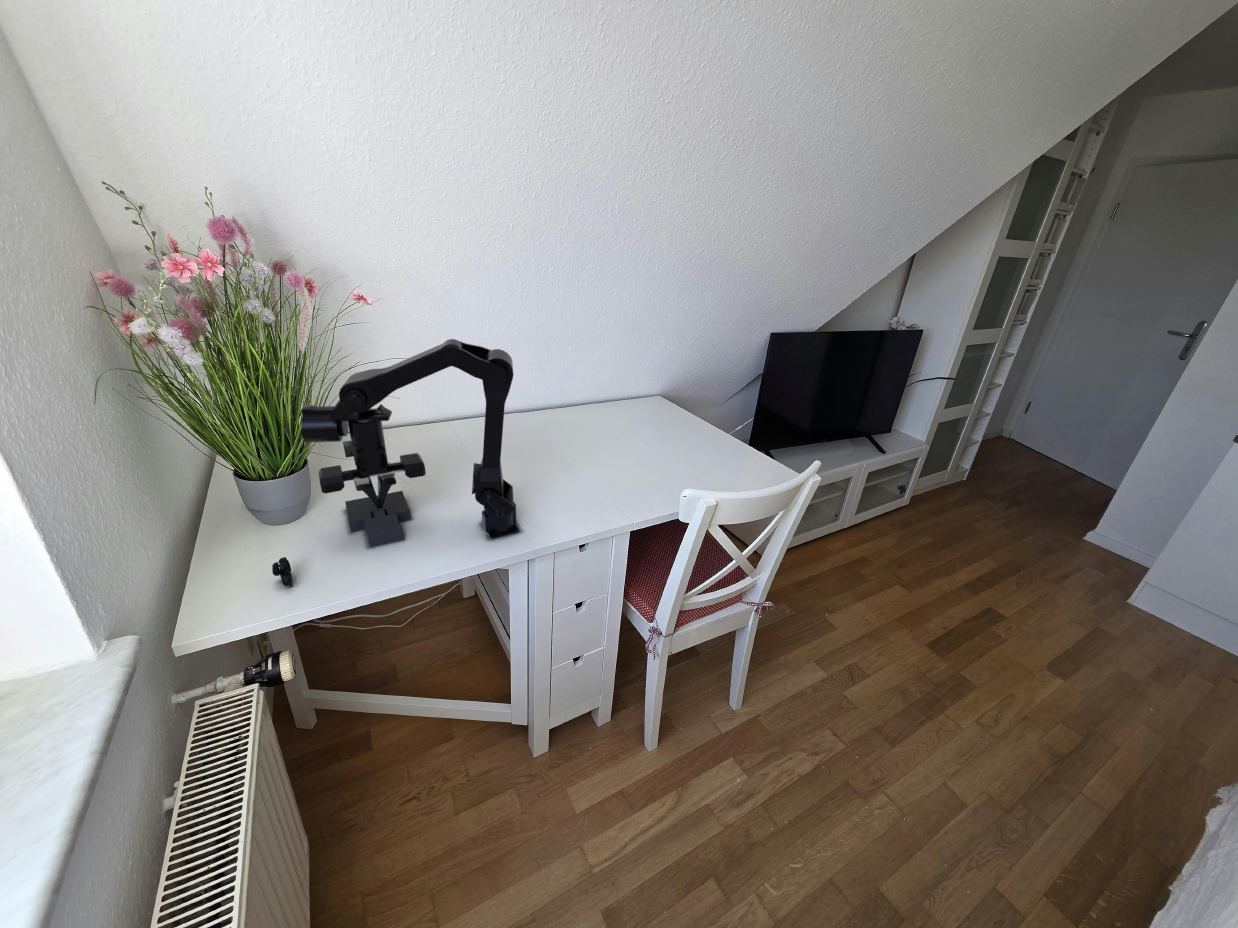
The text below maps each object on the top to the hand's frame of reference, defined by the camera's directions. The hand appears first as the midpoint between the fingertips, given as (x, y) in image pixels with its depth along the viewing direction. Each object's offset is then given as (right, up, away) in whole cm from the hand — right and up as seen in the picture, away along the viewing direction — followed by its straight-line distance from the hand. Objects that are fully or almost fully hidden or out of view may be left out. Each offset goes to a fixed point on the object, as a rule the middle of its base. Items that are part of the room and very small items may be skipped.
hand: (379, 507), depth 105 cm
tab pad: (-1, -5, +4) cm, 7 cm away
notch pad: (-5, -2, +9) cm, 10 cm away
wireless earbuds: (-12, -13, -12) cm, 21 cm away
